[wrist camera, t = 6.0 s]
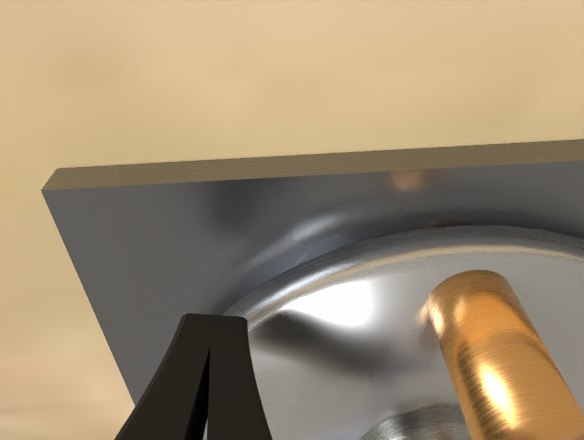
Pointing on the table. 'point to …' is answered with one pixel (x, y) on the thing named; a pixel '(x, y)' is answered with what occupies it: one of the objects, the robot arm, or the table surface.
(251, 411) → the robot arm
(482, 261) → the platter
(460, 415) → the cover
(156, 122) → the table surface
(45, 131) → the table surface
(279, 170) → the turntable base
